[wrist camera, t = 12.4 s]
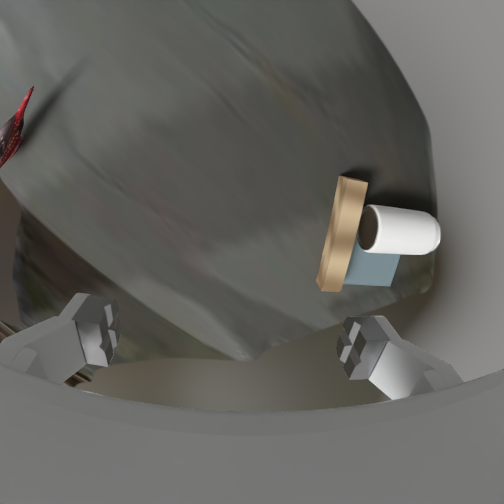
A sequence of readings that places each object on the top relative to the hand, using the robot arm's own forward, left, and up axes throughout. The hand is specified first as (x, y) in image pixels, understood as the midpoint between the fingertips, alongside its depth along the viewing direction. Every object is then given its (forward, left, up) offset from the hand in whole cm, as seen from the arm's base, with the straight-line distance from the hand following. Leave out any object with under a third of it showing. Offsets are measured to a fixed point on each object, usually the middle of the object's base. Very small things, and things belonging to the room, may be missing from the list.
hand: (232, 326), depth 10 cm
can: (+3, +18, -25) cm, 31 cm away
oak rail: (+5, +16, -29) cm, 34 cm away
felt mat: (+7, +23, -29) cm, 38 cm away
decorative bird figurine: (-6, -32, -29) cm, 44 cm away
